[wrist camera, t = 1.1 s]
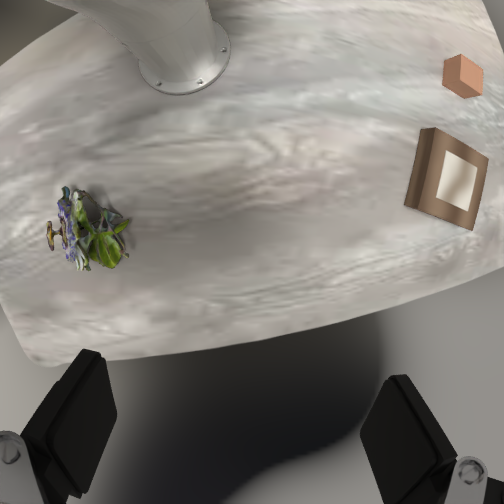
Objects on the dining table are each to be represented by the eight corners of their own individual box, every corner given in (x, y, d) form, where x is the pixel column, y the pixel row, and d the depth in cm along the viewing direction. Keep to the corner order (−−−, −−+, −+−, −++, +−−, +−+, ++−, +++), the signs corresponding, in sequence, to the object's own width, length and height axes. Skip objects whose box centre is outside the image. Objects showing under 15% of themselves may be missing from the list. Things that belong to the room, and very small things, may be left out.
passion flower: (95, 216, 44) (43, 186, 33) (147, 200, 42) (95, 160, 31) (90, 283, 41) (30, 264, 30) (144, 274, 39) (82, 249, 27)
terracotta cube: (441, 85, 34) (460, 79, 29) (443, 60, 33) (461, 53, 28) (463, 98, 34) (482, 95, 30) (465, 74, 33) (483, 69, 28)
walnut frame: (403, 204, 39) (418, 209, 35) (420, 129, 36) (436, 127, 32) (458, 225, 40) (473, 231, 36) (473, 157, 37) (489, 158, 33)
